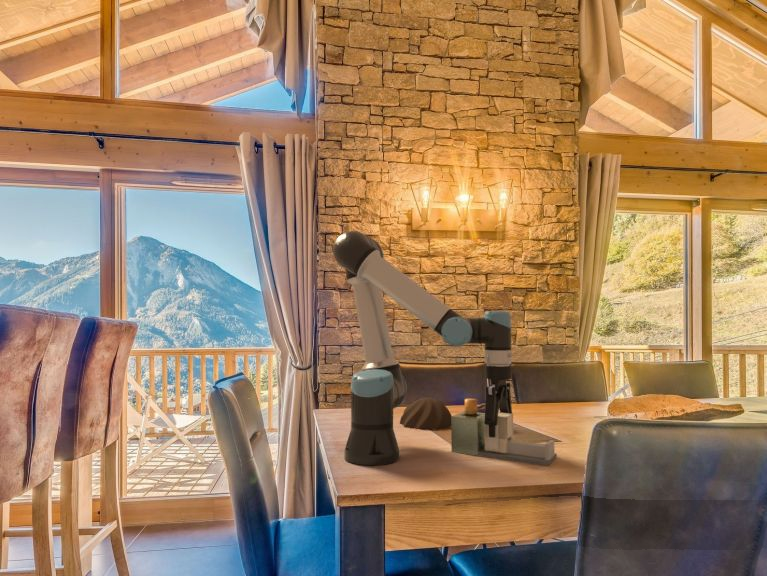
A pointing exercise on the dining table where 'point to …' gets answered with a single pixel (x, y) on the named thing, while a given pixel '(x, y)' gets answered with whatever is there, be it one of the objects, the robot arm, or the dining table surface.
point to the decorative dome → (426, 415)
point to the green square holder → (468, 433)
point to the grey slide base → (525, 452)
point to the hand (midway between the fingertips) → (499, 445)
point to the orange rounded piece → (470, 406)
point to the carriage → (502, 432)
